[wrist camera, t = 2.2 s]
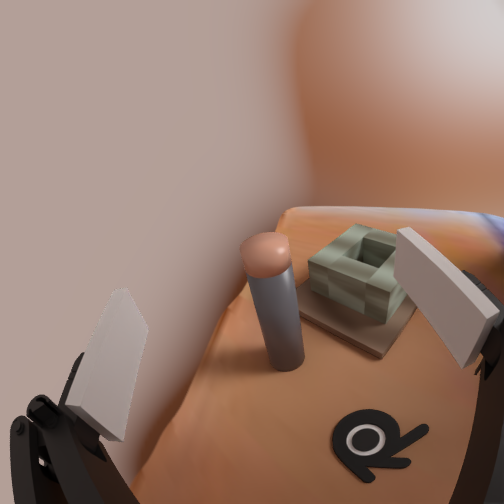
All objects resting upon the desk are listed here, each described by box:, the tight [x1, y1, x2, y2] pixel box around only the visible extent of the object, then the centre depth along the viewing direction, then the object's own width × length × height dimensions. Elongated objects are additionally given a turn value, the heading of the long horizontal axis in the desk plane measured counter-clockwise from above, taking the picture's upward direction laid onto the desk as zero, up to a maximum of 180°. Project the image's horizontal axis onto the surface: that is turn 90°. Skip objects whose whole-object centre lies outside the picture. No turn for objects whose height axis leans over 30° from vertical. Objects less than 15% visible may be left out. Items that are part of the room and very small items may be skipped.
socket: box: [296, 224, 417, 359], centre depth 35 cm, size 20×16×6 cm
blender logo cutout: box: [333, 409, 429, 483], centre depth 18 cm, size 9×8×1 cm
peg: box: [240, 232, 305, 372], centre depth 26 cm, size 4×4×15 cm
